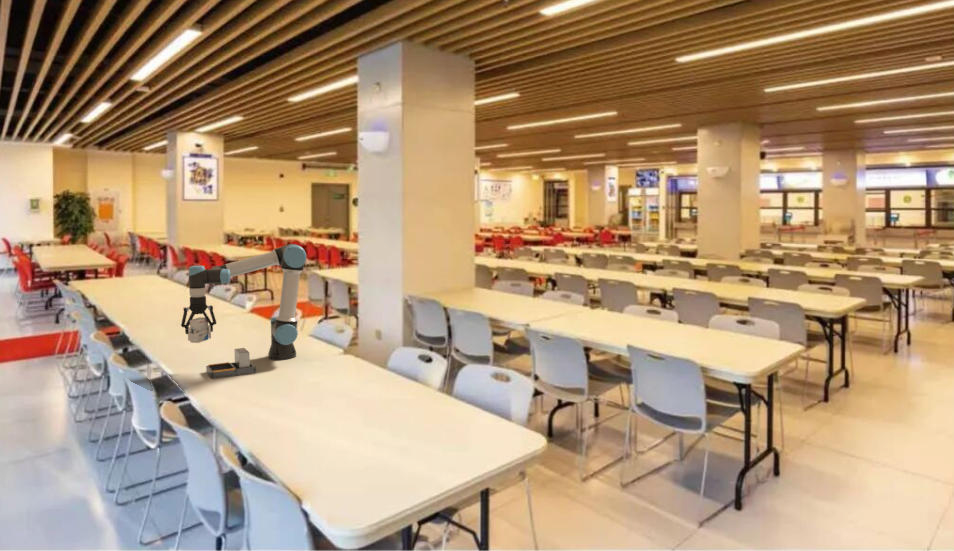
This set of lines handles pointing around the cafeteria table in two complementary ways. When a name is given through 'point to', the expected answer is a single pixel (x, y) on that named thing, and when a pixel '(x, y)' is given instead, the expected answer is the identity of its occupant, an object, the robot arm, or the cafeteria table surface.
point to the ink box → (198, 330)
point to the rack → (232, 366)
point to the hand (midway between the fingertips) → (199, 339)
